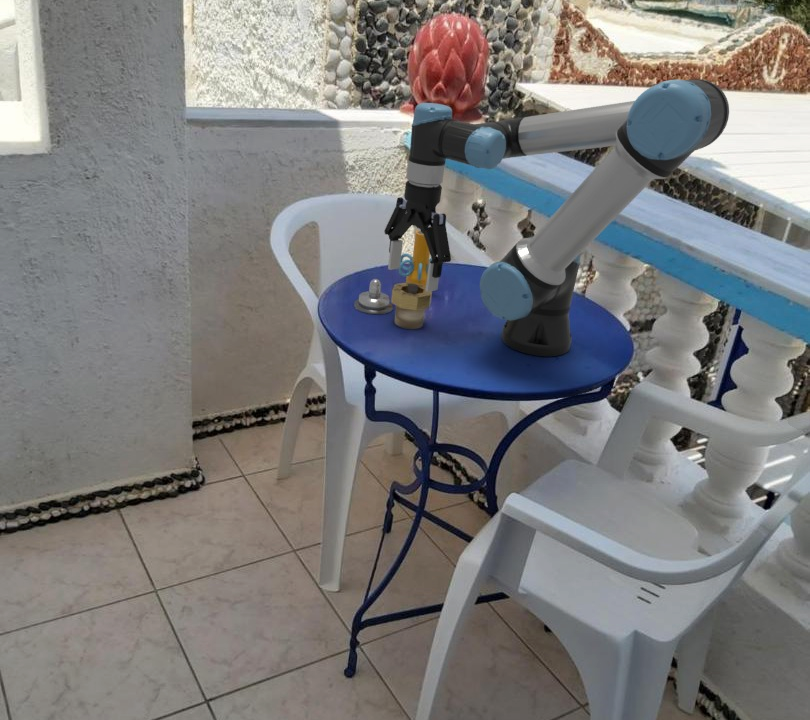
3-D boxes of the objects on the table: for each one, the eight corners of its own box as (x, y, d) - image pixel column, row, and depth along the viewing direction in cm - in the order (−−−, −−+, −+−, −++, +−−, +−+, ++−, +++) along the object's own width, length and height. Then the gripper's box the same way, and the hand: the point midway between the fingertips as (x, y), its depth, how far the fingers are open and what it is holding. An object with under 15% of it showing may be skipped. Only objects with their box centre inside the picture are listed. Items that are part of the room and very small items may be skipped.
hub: (400, 310, 177) (403, 283, 174) (368, 317, 172) (370, 288, 169) (378, 297, 184) (380, 270, 181) (346, 302, 179) (348, 275, 176)
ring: (437, 306, 169) (439, 293, 168) (407, 312, 164) (408, 299, 163) (414, 293, 175) (415, 280, 173) (384, 298, 170) (385, 285, 169)
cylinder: (438, 302, 185) (446, 242, 178) (395, 298, 184) (401, 238, 178) (437, 285, 196) (445, 227, 189) (397, 280, 195) (402, 223, 189)
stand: (428, 326, 171) (433, 288, 167) (405, 330, 167) (410, 292, 164) (411, 315, 176) (415, 278, 172) (388, 320, 172) (392, 282, 168)
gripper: (477, 197, 151) (462, 297, 161) (402, 166, 169) (392, 258, 178) (448, 200, 147) (434, 302, 157) (374, 168, 164) (365, 262, 174)
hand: (412, 279), depth 167 cm, fingers open, 13 cm apart
